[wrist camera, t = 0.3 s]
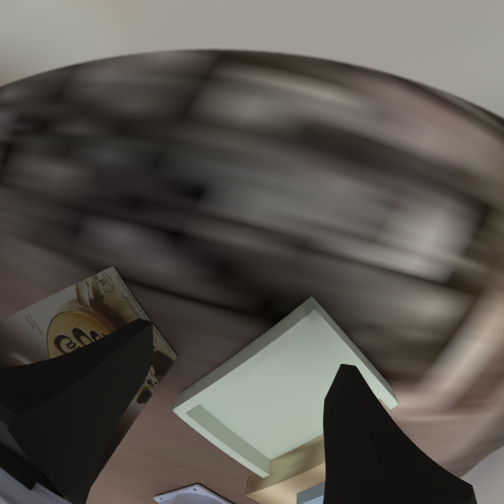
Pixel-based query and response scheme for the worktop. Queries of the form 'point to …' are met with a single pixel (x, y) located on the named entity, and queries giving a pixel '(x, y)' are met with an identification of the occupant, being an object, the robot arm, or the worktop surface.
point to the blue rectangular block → (311, 495)
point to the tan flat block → (289, 474)
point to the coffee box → (83, 335)
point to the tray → (276, 389)
